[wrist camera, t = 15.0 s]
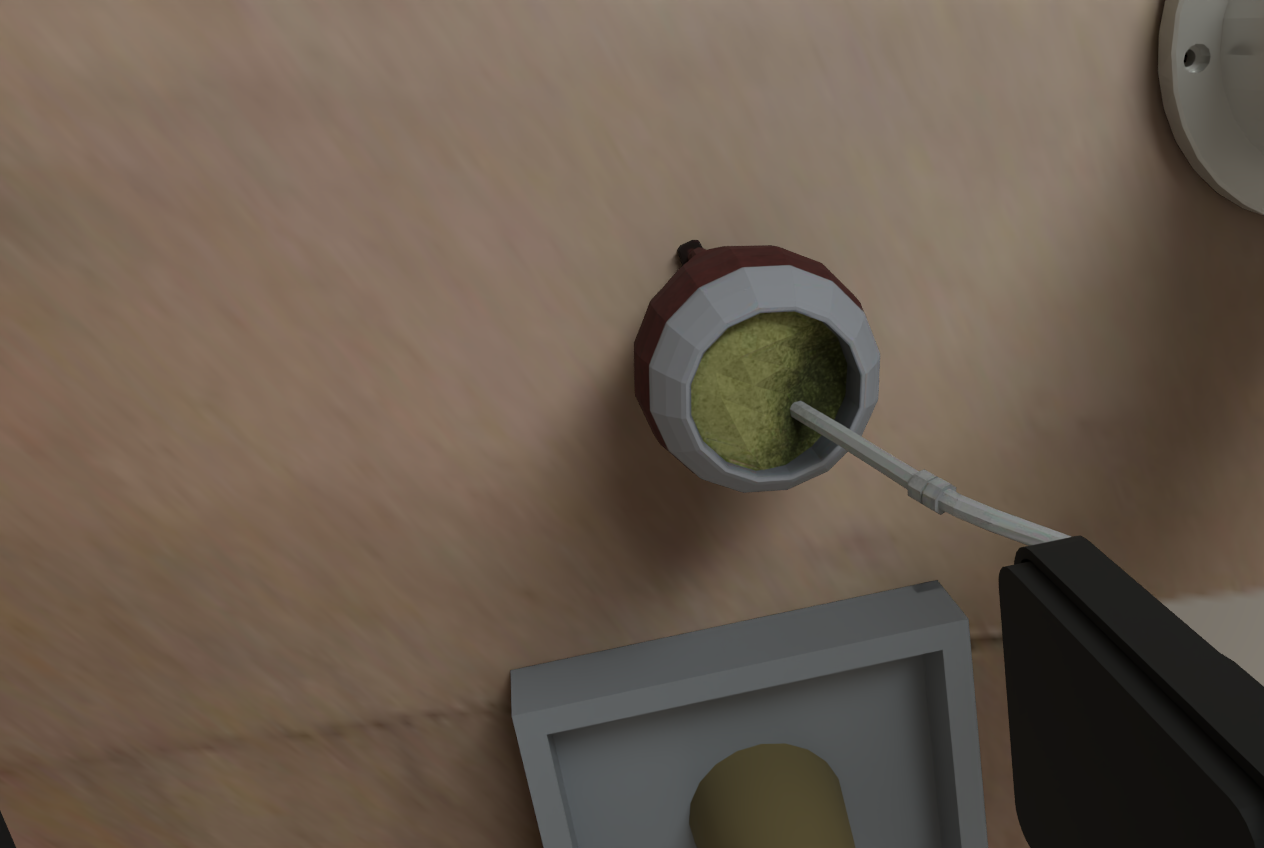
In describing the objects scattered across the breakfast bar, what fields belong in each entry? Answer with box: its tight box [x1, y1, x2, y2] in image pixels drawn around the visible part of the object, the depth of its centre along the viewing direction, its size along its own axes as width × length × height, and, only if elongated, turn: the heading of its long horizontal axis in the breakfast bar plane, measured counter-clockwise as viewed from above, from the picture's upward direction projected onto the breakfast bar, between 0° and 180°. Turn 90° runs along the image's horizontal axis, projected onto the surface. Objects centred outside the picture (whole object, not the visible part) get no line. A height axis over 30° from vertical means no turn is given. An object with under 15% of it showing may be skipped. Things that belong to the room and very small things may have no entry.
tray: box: [511, 580, 988, 848], centre depth 44 cm, size 16×16×3 cm
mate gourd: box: [634, 240, 1071, 546], centre depth 32 cm, size 8×8×15 cm
